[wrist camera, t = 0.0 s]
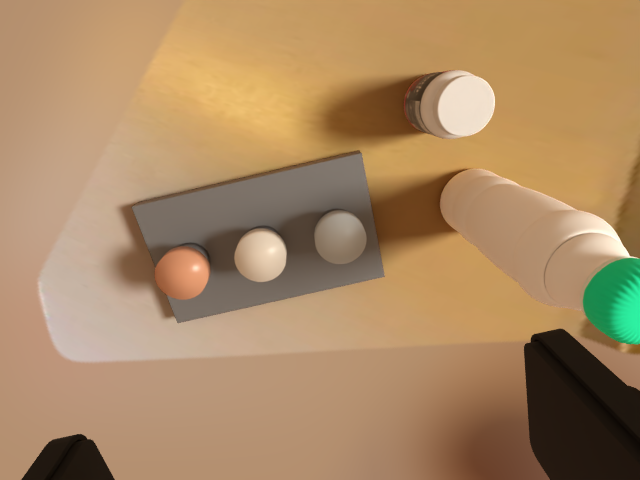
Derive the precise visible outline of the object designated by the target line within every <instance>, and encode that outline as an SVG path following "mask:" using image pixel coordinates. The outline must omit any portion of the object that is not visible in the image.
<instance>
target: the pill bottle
mask: <svg viewBox="0 0 640 480" xmlns="http://www.w3.org/2000/svg"><path fill="white" fill-rule="evenodd" d="M494 107H495V97H494V93H493V91H492V88H491V87H490V85H489V84H488V83H487V82H486V81H485V80H483V79H482V78H480V77H477V76H474V75H473V74H471V73H469V72H466V71H461V70H452V71H444V72H436V73H430V74H426V75H423V76H421V77H420V78H418V79H417V80H415V81H414V82H413V83H412V85H411V86H410V87H409V89H408V91H407V93H406V95H405V99H404V112H405V115H406V118H407V120H408V121H409V123H410V124H411V125H412V126H413V127H414V128H416V129H418V130H419V131H422V132H425V133H428V134H431V135H434V136H437V137H440V138H444V139H456V138H460V137H463V136H470V135H473V134H475V133H477V132H479V131H480V130H481V129H483V128H484V127H485V126H486V124H487V123H488V122H489V120H490V119H491V117H492V114H493V111H494Z"/></svg>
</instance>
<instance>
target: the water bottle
mask: <svg viewBox="0 0 640 480" xmlns="http://www.w3.org/2000/svg"><path fill="white" fill-rule="evenodd" d="M440 209H441V213H442V216H443V218H444V219H445V221H446V222H447V223H448V224H449V225H450V226H451V227H452V228H453V229H455V230H456V231H458V232H459V233H460V234H461V235H462V236H463V237H464V238H465V239H466V240H467V241H469V242H470V243H471V244H473V245H475V246H476V247H477V248H478V249H479V250H480V251H481V252H482V253H483V254H484V255H485V256H486V257H487V258H488V259H489V260H490V261H491V262H492V263H493V264H495V265H496V266H497V267H498V268H499V269H500V270H502V271H503V272H504V273H505V274H507V275H508V276H509V277H511V278H512V279H513V280H515V281H516V282H518V283H519V285H520V286H521V287H522V289H523V290H524V291H525V292H526V293H527V294H528V295H530V296H531V297H532V298H534V299H535V300H537V301H539V302H541V303H544V304H547V305H550V306H555V307H562V308H570V309H574V310H582V312H583V313H584V315H585V316H586V317H587V318H588V319H589V320H590V322H591V323H592V324H593V325H594V326H595V327H597V328H598V329H599V330H600V331H601V332H603V333H604V334H606V335H607V336H609V337H610V338H612V339H614V340H616V341H618V342H621V343H626V344H639V343H640V259H639V258H636V257H632V256H629V254H628V252H627V250H626V249H625V248H624V246H623V245H622V243H621V241H620V239H619V237H618V235H617V233H616V232H615V231H614V229H613V228H612V227H611V226H610V225H609V224H608V223H607V222H606V221H604V220H603V219H601V218H600V217H598V216H596V215H593V214H591V213H588V212H584V211H579V210H576V209H574V208H572V207H571V206H569V205H567V204H565V203H563V202H561V201H559V200H556V199H554V198H552V197H549V196H547V195H545V194H542V193H540V192H537V191H534V190H532V189H528V188H525V187H522V186H520V185H518V184H517V183H515V182H513V181H511V180H509V179H506V178H502V177H500V176H498V175H496V174H494V173H492V172H490V171H487V170H484V169H468V170H465V171H462V172H460V173H458V174H457V175H455V176H454V177H453V178H452V179H451V180H450V181H449V182H448V183H447V184H446V186H445V187H444V189H443V192H442V194H441V199H440Z"/></svg>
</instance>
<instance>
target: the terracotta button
mask: <svg viewBox="0 0 640 480" xmlns="http://www.w3.org/2000/svg"><path fill="white" fill-rule="evenodd" d="M210 272H211V269H210V264H209V262H208V260H207V258H206V257H205V256H204V255H203V254H202V253H201V252H200V251H198V250H196V249H194V248H191V247H186V246H180V247H176V248H173V249H171V250H169V251H168V252H167V253H166V254H165V255H164V256H163V257H162V259H161V260H160V261H159V262H158V264H157V266H156V268H155V280H156V283H157V285H158V287H159V288H160V289H161V290H162V291H163V292H164V293H165V294H166V295H168V296H170V297H172V298H175V299H181V300H186V299H191V298H194V297H196V296H197V295H199V294H200V293H201V292H202V291H203V289H204V288H205V286H206V284H207V282H208V280H209V277H210Z"/></svg>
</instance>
